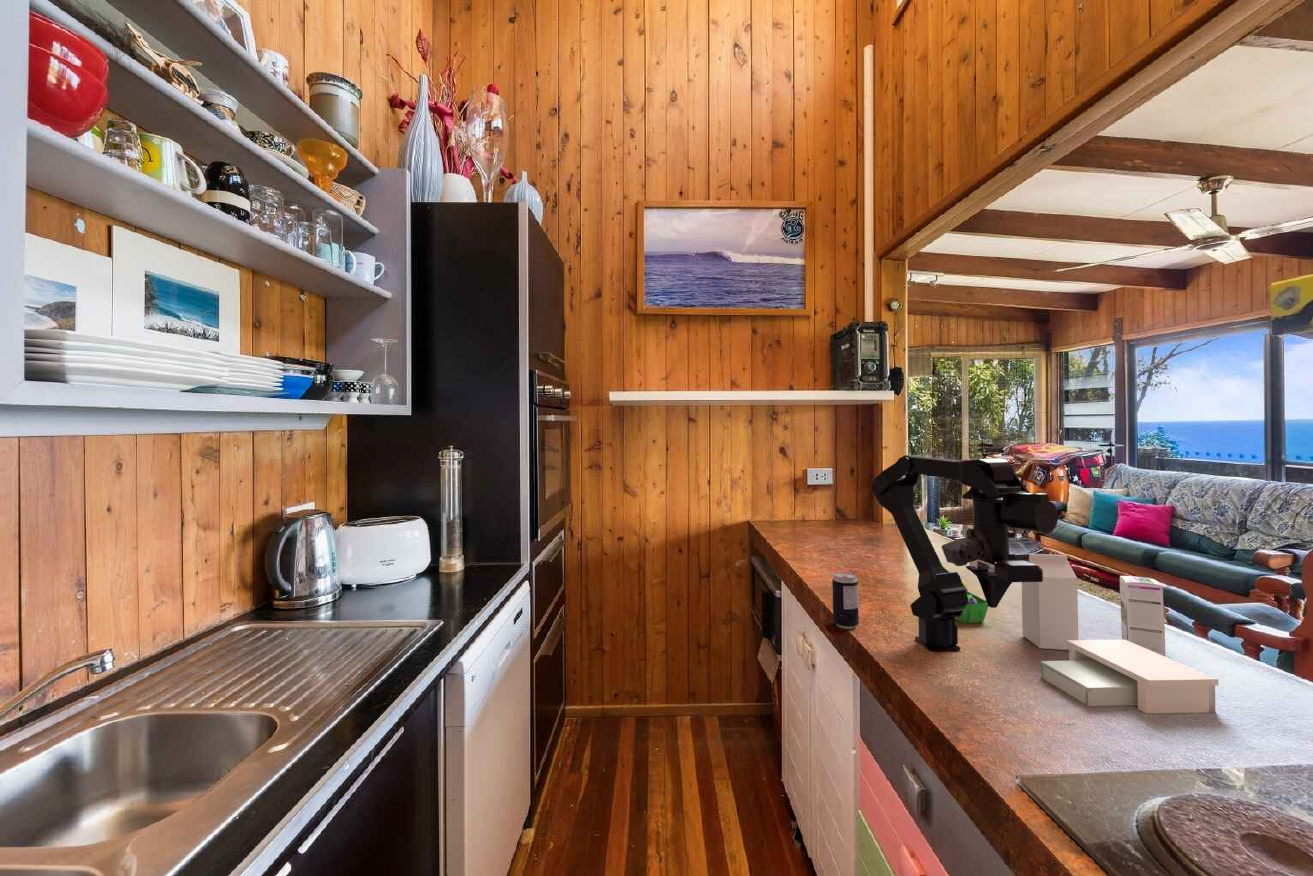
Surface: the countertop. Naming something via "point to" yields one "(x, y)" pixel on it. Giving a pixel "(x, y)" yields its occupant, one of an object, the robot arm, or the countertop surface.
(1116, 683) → the cream rectangular slab
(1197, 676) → the overhang
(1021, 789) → the countertop surface
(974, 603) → the fruit basket
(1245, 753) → the countertop surface
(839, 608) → the beverage can
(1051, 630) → the milk carton
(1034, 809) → the countertop surface
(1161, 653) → the syrup box
